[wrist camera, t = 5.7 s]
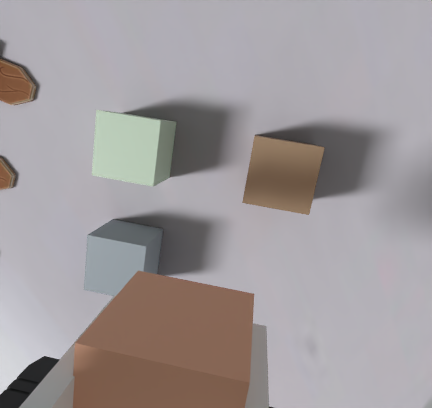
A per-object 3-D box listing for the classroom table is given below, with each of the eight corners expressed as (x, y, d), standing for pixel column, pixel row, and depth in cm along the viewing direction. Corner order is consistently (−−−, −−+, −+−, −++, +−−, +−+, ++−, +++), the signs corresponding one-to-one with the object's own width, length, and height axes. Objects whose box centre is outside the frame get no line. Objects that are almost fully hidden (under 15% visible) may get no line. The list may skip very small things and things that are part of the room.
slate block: (113, 219, 32) (87, 234, 28) (163, 228, 32) (146, 246, 27) (109, 266, 34) (83, 289, 29) (157, 276, 33) (139, 301, 28)
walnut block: (255, 134, 29) (254, 136, 24) (313, 144, 29) (324, 147, 24) (245, 190, 30) (242, 202, 25) (300, 200, 30) (309, 214, 25)
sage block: (122, 113, 30) (96, 110, 25) (176, 121, 30) (160, 120, 25) (117, 168, 31) (91, 175, 26) (169, 177, 31) (153, 186, 26)
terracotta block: (138, 270, 14) (74, 343, 9) (254, 293, 14) (249, 382, 9) (128, 369, 16) (67, 478, 11) (234, 393, 15) (221, 519, 10)
